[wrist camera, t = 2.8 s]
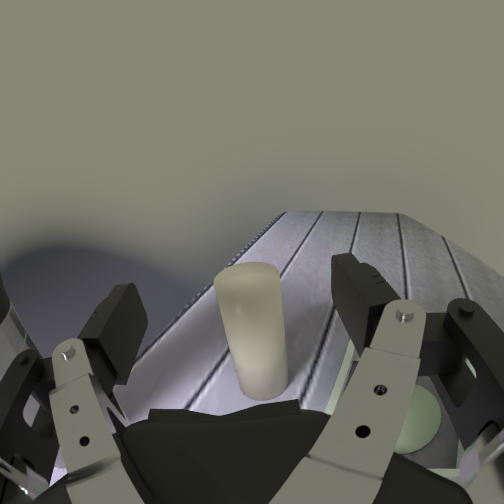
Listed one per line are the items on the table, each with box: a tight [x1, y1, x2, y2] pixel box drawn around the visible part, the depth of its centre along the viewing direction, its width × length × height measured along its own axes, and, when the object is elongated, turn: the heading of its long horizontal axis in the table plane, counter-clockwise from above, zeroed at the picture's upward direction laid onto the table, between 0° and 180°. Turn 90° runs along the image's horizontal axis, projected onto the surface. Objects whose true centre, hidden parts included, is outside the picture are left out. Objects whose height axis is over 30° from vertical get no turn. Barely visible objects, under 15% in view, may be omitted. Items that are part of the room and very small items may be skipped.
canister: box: [214, 262, 289, 401], centre depth 27 cm, size 6×6×14 cm
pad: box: [394, 384, 441, 455], centre depth 21 cm, size 9×9×1 cm
